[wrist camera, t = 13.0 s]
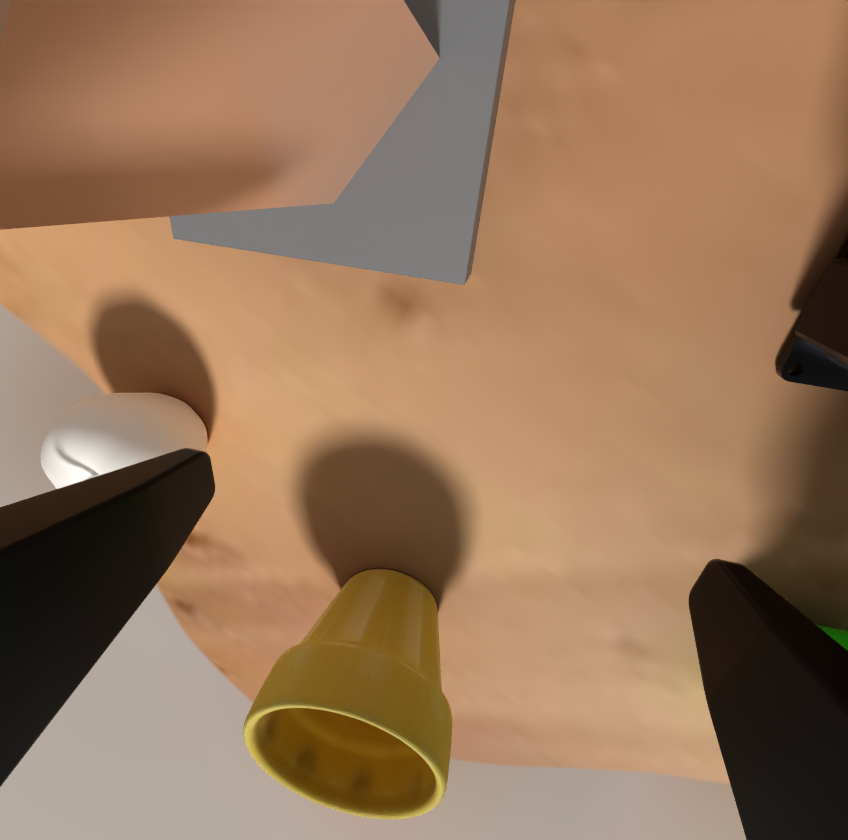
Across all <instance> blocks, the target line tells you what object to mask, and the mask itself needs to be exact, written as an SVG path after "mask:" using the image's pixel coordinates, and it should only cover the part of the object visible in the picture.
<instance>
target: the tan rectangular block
mask: <svg viewBox="0 0 848 840" xmlns="http://www.w3.org/2000/svg"><path fill="white" fill-rule="evenodd" d="M439 59H440V58H439V56H438V55H437V53H436V51H435V50H434V48H433V47H432V45H431V43H430V42H429V40H428V39H427V37H426V35H425V34H424V32H423V31H422V29H421V27H420V26H419V24H418V22H417V21H416V19H415V18H414V16H413V14H412V13H411V11H410V10H409V8H408V6H407V5H406V3H405V2H404V0H0V229H13V228H26V227H39V226H51V225H64V224H77V223H89V222H102V221H115V220H127V219H140V218H153V217H166V216H178V215H191V214H204V213H216V212H229V211H242V210H255V209H267V208H280V207H293V206H305V205H318V204H331V203H334V202H335V201H336V200H337V198H338V197H339V195H340V194H341V193H342V191H343V190H344V189H345V187H346V186H347V184H348V183H349V182H350V180H351V179H352V178H353V176H354V175H355V174H356V172H357V171H358V169H359V168H360V167H361V165H362V164H363V163H364V161H365V160H366V159H367V157H368V156H369V154H370V153H371V152H372V150H373V149H374V148H375V146H376V145H377V144H378V142H379V141H380V139H381V138H382V137H383V135H384V134H385V133H386V131H387V130H388V128H389V127H390V126H391V124H392V123H393V122H394V120H395V119H396V118H397V116H398V115H399V113H400V112H401V111H402V109H403V108H404V107H405V105H406V104H407V103H408V101H409V100H410V98H411V97H412V96H413V94H414V93H415V92H416V90H417V89H418V88H419V86H420V85H421V83H422V82H423V81H424V79H425V78H426V77H427V75H428V74H429V72H430V71H431V70H432V68H433V67H434V66H435V64H436V63H437V62H438V60H439Z"/></svg>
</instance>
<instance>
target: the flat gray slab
mask: <svg viewBox="0 0 848 840" xmlns="http://www.w3.org/2000/svg"><path fill="white" fill-rule="evenodd" d="M404 2H405V3H406V5H407V6H408V8H409V10H410V11H411V13H412V14H413V16H414V18H415V19H416V21H417V22H418V24H419V26H420V27H421V29H422V31H423V32H424V34H425V35H426V37H427V39H428V40H429V42H430V43H431V45H432V47H433V48H434V50H435V51H436V53H437V55H438V56H439V58H440V59H439V60H438V62H437V63H436V64H435V66H434V67H433V68H432V70H431V71H430V72H429V74H428V75H427V77H426V78H425V79H424V81H423V82H422V83H421V85H420V86H419V88H418V89H417V90H416V92H415V93H414V94H413V96H412V97H411V98H410V100H409V101H408V103H407V104H406V105H405V107H404V108H403V109H402V111H401V112H400V113H399V115H398V116H397V118H396V119H395V120H394V122H393V123H392V124H391V126H390V127H389V128H388V130H387V131H386V133H385V134H384V135H383V137H382V138H381V139H380V141H379V142H378V144H377V145H376V146H375V148H374V149H373V150H372V152H371V153H370V154H369V156H368V157H367V159H366V160H365V161H364V163H363V164H362V165H361V167H360V168H359V169H358V171H357V172H356V174H355V175H354V176H353V178H352V179H351V180H350V182H349V183H348V184H347V186H346V187H345V189H344V190H343V191H342V193H341V194H340V195H339V197H338V198H337V200H336V201H335V202H334V203H331V204H318V205H305V206H293V207H280V208H267V209H255V210H242V211H229V212H216V213H204V214H191V215H178V216H170V221H171V227H172V233H173V239H179V240H185V241H192V242H198V243H204V244H210V245H217V246H223V247H229V248H235V249H242V250H248V251H254V252H261V253H267V254H273V255H279V256H286V257H292V258H298V259H305V260H311V261H317V262H323V263H330V264H336V265H342V266H348V267H355V268H361V269H367V270H374V271H380V272H386V273H392V274H399V275H405V276H411V277H418V278H424V279H430V280H436V281H443V282H449V283H455V284H461V285H465V283H466V281H467V280H468V278H469V276H470V274H471V270H472V264H473V258H474V251H475V245H476V239H477V233H478V227H479V221H480V214H481V208H482V202H483V196H484V190H485V184H486V178H487V171H488V165H489V159H490V153H491V147H492V141H493V134H494V128H495V122H496V116H497V110H498V104H499V98H500V91H501V85H502V79H503V73H504V67H505V61H506V54H507V48H508V42H509V36H510V30H511V24H512V18H513V11H514V5H515V0H404Z"/></svg>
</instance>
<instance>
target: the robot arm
mask: <svg viewBox="0 0 848 840" xmlns="http://www.w3.org/2000/svg"><path fill="white" fill-rule="evenodd" d="M794 330H795V333H794V335H793V337H792V339H791V340H790V342H789V344H788V346H787V348H786V349H785V351H784V353H783V355H782V357H781V358H780V360H779V362H778V364H777V367H776V372H777V374H778V375H779V376H780V377H781V378H783V379H784V380H786V381H789V382H795V383H801V384H807V385H813V386H820V387H826V388H832V389H838V390H844V391H848V238H847V239H846V241H845V243H844V245H843V247H842V248H841V250H840V252H839V254H838V256H837V257H836V259H835V261H833V262H832V263H830V264H829V266H828V268H827V269H826V271H825V273H824V275H823V277H822V278H821V280H820V282H819V284H818V286H817V288H816V289H815V291H814V293H813V295H812V297H811V298H810V300H809V302H808V304H807V306H806V308H805V309H804V311H803V313H802V315H801V317H800V318H799V320H798V322H797V324H796V326H795V328H794ZM795 364H798V368H797V369H796V370H795V371H792V372H788V371H789V368H790V367H791V366H793V365H795ZM214 492H215V482H214V476H213V471H212V465H211V459H210V456H209V455H208V454H207V453H206V452H204V451H200V450H195V449H191V448H183V449H180V450H177V451H174V452H170V453H167V454H164V455H161V456H158V457H155V458H152V459H149V460H146V461H143V462H139V463H136V464H133V465H130V466H127V467H124V468H121V469H118V470H115V471H112V472H109V473H105V474H102V475H99V476H96V477H93V478H90V479H87V480H84V481H81V482H78V483H75V484H71V485H68V486H65V487H62V488H59V489H56V490H53V491H50V492H47V493H44V494H40V495H37V496H34V497H32V498H28V499H25V500H22V501H19V502H16V503H13V504H10V505H6V506H3V507H0V787H1V785H2V784H3V783H4V781H5V780H6V779H7V778H8V776H9V775H10V774H11V772H12V771H13V770H14V768H15V767H16V766H17V765H18V763H19V762H20V761H21V759H22V758H23V757H24V755H25V754H26V753H27V752H28V750H29V749H30V748H31V746H32V745H33V744H34V742H35V741H36V740H37V738H38V737H39V736H40V735H41V733H42V732H43V731H44V729H45V728H46V727H47V725H48V724H49V723H50V721H51V720H52V719H53V718H54V716H55V715H56V714H57V712H58V711H59V710H60V709H61V707H62V706H63V705H64V703H65V702H66V701H67V699H68V698H69V697H70V696H71V694H72V693H73V692H74V690H75V689H76V688H77V687H78V685H79V684H80V683H81V681H82V680H83V679H84V677H85V676H86V675H87V674H88V672H89V671H90V670H91V668H92V667H93V666H94V664H95V663H96V662H97V661H98V659H99V658H100V657H101V655H102V654H103V653H104V651H105V650H106V649H107V647H108V646H109V645H110V644H111V642H112V641H113V640H114V638H115V637H116V636H117V634H118V633H119V632H120V631H121V629H122V628H123V627H124V625H125V624H126V623H127V621H128V620H129V619H130V618H131V616H132V615H133V614H134V612H135V611H136V610H137V609H138V607H139V606H140V605H141V603H142V602H143V601H144V599H145V598H146V597H147V595H148V594H149V593H150V592H151V590H152V589H153V588H154V586H155V585H156V584H157V583H158V581H159V580H160V579H161V577H162V576H163V575H164V573H165V572H166V570H167V569H168V568H169V566H170V565H171V563H172V562H173V560H174V559H175V557H176V556H177V554H178V553H179V551H180V549H181V548H182V546H183V545H184V543H185V541H186V540H187V538H188V537H189V535H190V533H191V532H192V530H193V529H194V527H195V525H196V524H197V522H198V521H199V519H200V517H201V516H202V514H203V513H204V511H205V509H206V508H207V506H208V505H209V503H210V501H211V500H212V498H213V495H214ZM689 609H690V615H691V620H692V626H693V631H694V637H695V642H696V648H697V653H698V659H699V664H700V670H701V675H702V681H703V686H704V691H705V695H706V700H707V704H708V707H709V711H710V715H711V718H712V722H713V725H714V729H715V732H716V736H717V739H718V743H719V746H720V749H721V753H722V756H723V760H724V763H725V767H726V770H727V774H728V777H729V780H730V784H731V787H732V791H733V794H734V797H735V801H736V805H737V808H738V811H739V815H740V818H741V822H742V825H743V828H744V832H745V835H746V839H747V840H848V651H847V650H846V649H845V648H844V647H843V646H841V645H840V644H839V643H838V642H836V641H835V640H834V639H833V638H832V637H830V636H829V635H828V634H827V633H825V632H824V631H823V630H822V629H821V628H819V627H818V626H817V625H816V624H814V623H813V622H812V621H811V620H810V619H808V618H807V617H806V616H805V615H803V614H802V613H801V612H800V611H799V610H797V609H796V608H795V607H794V606H792V605H791V604H790V603H789V602H788V601H786V600H785V599H784V598H783V597H781V596H780V595H779V594H778V593H776V592H775V591H774V590H773V589H772V588H770V587H769V586H768V585H767V584H765V583H764V582H763V581H762V580H761V579H759V578H758V577H757V576H756V575H754V574H753V573H752V572H751V571H750V570H748V569H747V568H746V567H745V566H743V565H741V564H739V563H735V562H730V561H725V560H720V559H713V560H711V561H710V562H708V564H707V565H706V567H705V568H704V570H703V571H702V573H701V575H700V576H699V578H698V579H697V581H696V583H695V584H694V586H693V587H692V589H691V591H690V594H689Z"/></svg>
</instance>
